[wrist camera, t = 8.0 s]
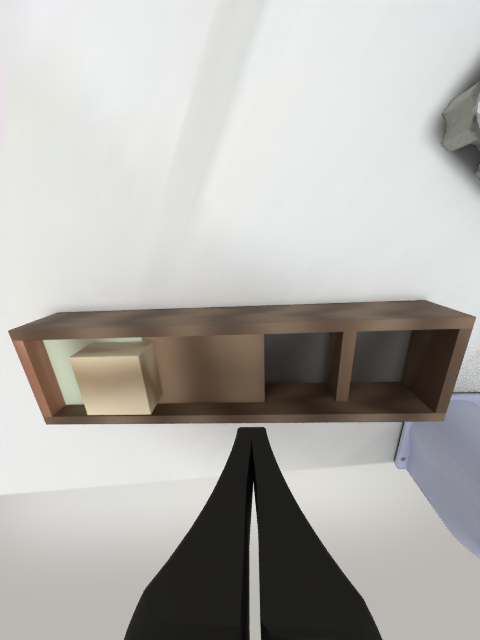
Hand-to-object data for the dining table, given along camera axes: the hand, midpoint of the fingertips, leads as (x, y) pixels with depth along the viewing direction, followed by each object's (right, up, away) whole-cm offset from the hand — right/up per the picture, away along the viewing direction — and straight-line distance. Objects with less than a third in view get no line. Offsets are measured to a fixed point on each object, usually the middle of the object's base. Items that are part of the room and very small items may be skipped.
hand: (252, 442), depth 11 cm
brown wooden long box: (-1, +3, +10) cm, 10 cm away
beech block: (-10, +2, +7) cm, 13 cm away
